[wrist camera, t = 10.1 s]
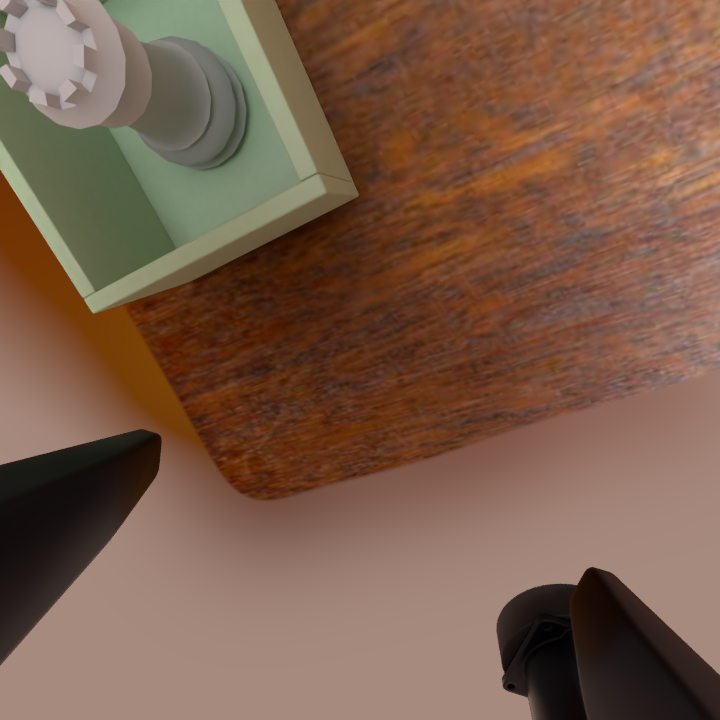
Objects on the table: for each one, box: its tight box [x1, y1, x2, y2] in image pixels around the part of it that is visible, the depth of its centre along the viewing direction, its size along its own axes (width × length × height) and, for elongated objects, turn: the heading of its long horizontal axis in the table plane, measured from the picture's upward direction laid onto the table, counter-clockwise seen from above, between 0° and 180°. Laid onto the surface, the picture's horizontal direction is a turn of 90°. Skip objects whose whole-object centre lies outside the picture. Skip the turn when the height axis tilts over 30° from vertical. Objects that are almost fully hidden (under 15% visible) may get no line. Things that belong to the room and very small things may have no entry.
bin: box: [0, 0, 359, 313], centre depth 15 cm, size 11×9×7 cm
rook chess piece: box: [0, 0, 247, 170], centre depth 14 cm, size 4×4×8 cm
